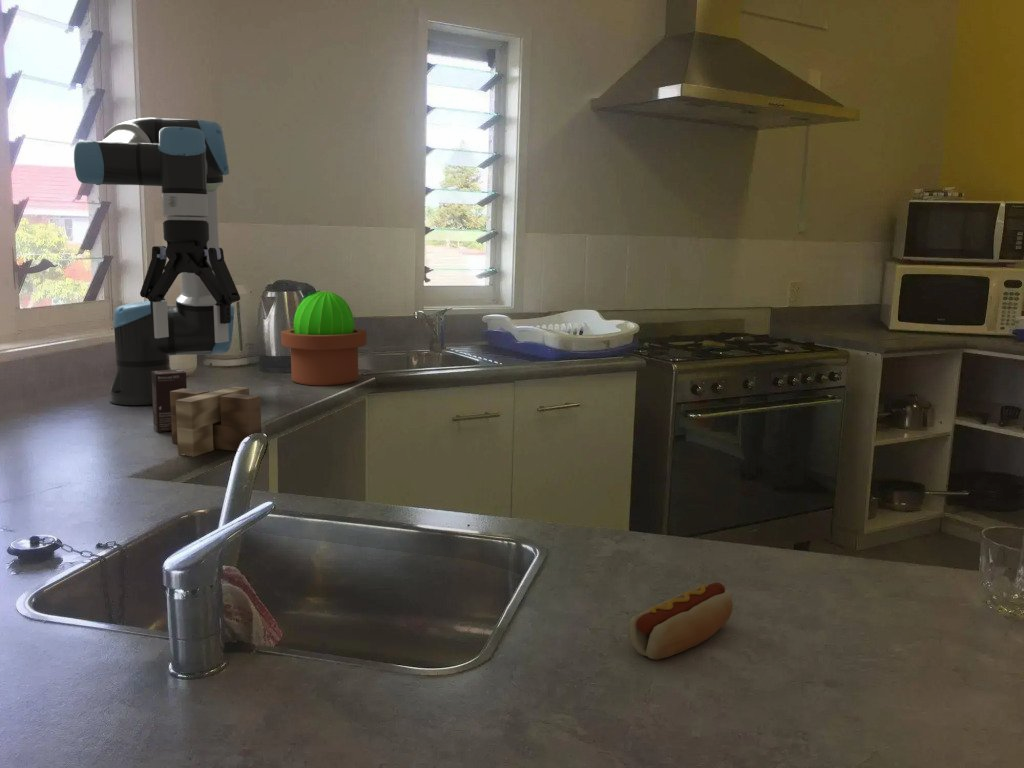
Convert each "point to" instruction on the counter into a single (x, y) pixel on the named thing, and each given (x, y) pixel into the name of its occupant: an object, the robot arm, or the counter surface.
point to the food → (681, 621)
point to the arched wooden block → (200, 420)
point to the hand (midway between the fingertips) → (191, 340)
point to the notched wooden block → (225, 417)
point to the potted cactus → (324, 341)
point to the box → (165, 396)
